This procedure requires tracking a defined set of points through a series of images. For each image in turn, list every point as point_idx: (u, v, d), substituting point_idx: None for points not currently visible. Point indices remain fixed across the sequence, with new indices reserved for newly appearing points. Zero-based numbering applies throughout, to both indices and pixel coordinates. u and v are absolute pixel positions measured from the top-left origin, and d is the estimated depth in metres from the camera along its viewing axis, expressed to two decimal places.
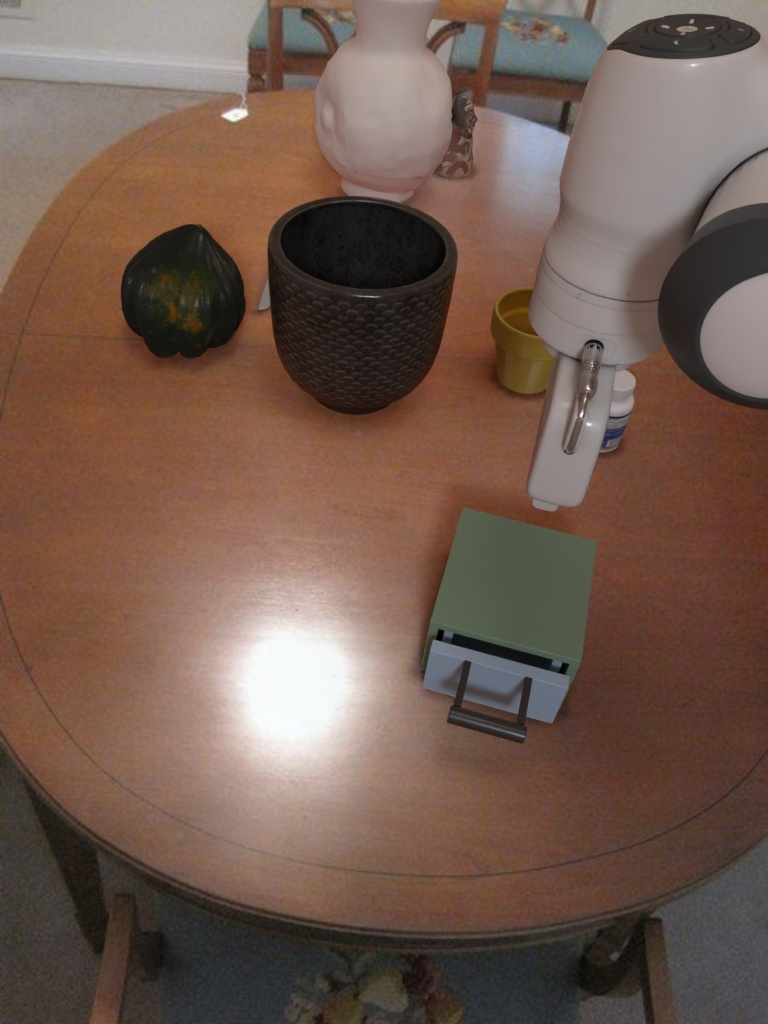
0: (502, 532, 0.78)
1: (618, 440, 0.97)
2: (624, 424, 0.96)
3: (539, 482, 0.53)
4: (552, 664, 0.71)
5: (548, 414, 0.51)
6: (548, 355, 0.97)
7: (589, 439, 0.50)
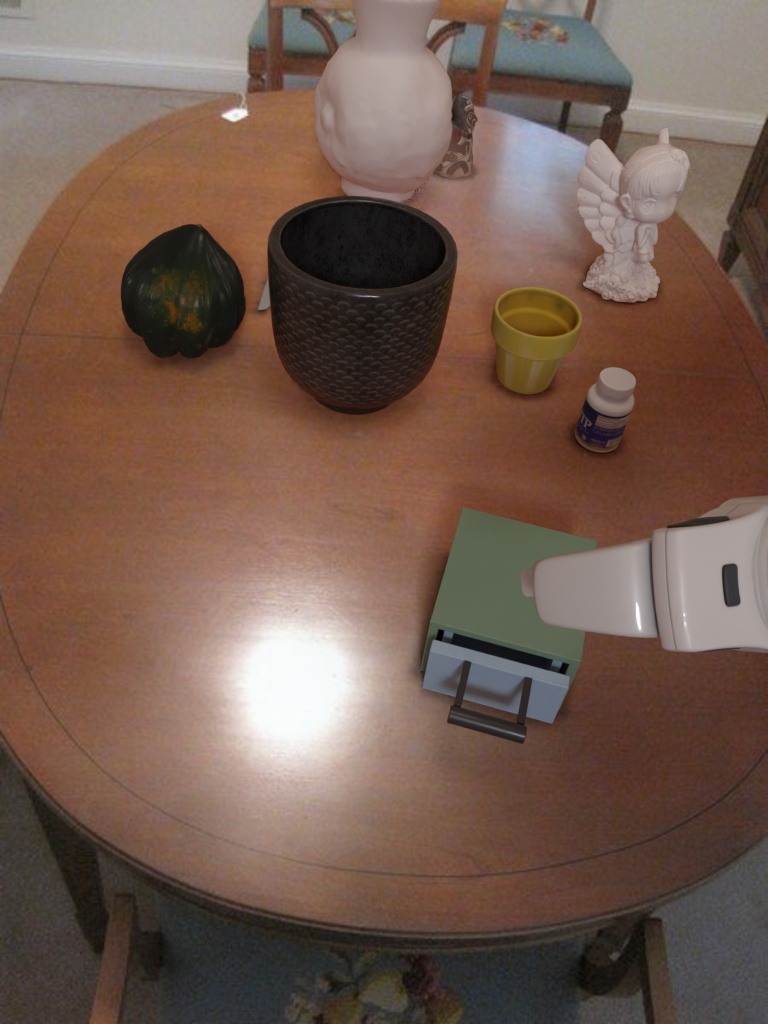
0: (502, 532, 0.78)
1: (618, 440, 0.97)
2: (624, 424, 0.96)
3: None
4: (552, 664, 0.71)
5: None
6: (548, 355, 0.97)
7: None
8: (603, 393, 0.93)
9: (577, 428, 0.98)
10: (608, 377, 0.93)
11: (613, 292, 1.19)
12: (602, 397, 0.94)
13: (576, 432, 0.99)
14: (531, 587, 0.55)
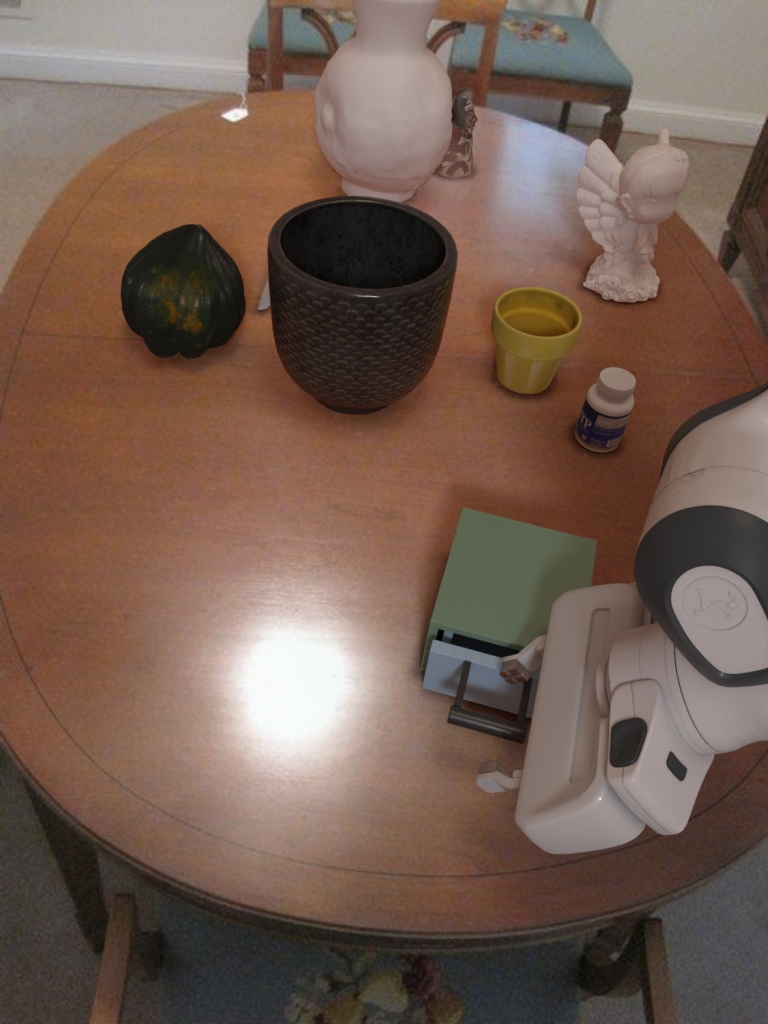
0: (502, 532, 0.78)
1: (618, 440, 0.97)
2: (624, 424, 0.96)
3: None
4: None
5: None
6: (548, 355, 0.97)
7: None
8: (603, 393, 0.93)
9: (577, 428, 0.98)
10: (608, 377, 0.93)
11: (613, 292, 1.19)
12: (602, 397, 0.94)
13: (576, 432, 0.99)
14: (492, 788, 0.61)
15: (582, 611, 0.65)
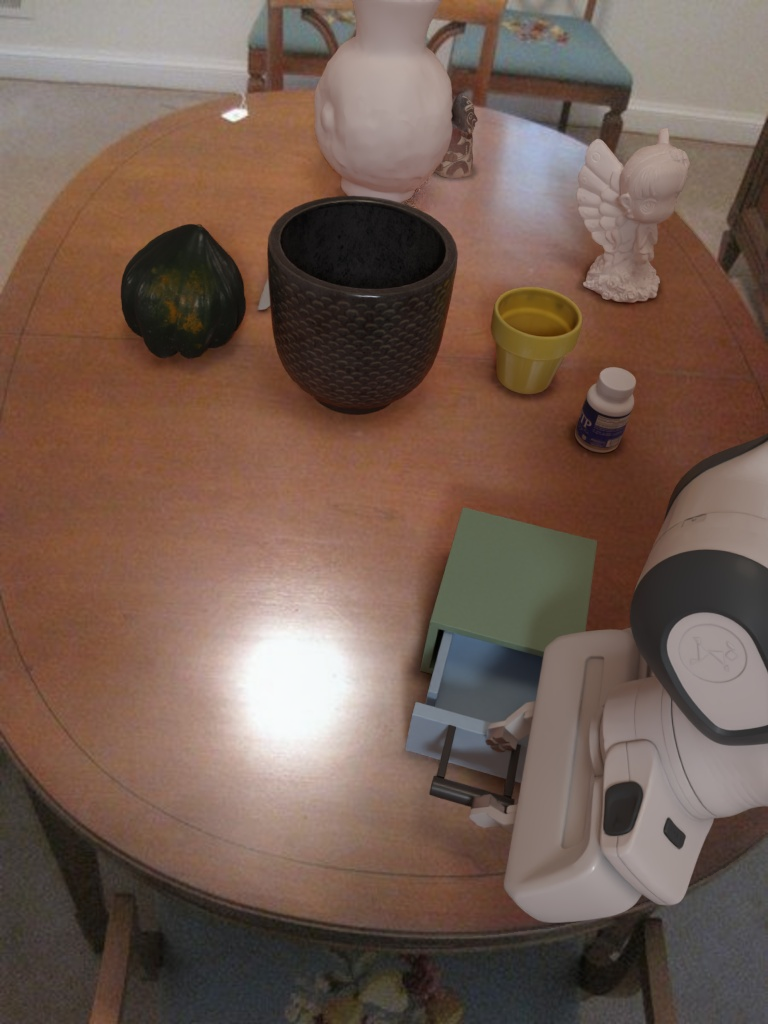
0: (502, 532, 0.78)
1: (618, 440, 0.97)
2: (624, 424, 0.96)
3: None
4: None
5: None
6: (548, 355, 0.97)
7: None
8: (603, 393, 0.93)
9: (577, 428, 0.98)
10: (608, 377, 0.93)
11: (613, 292, 1.19)
12: (602, 397, 0.94)
13: (576, 432, 0.99)
14: (486, 823, 0.60)
15: (575, 659, 0.62)
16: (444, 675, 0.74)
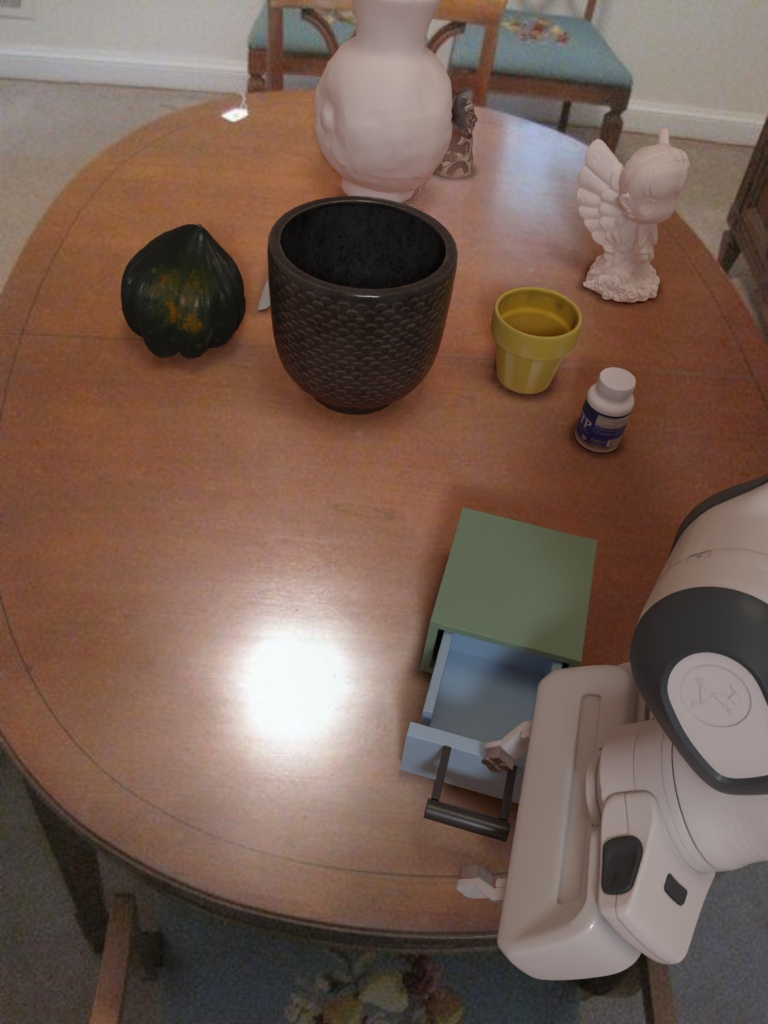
0: (502, 532, 0.78)
1: (618, 440, 0.97)
2: (624, 424, 0.96)
3: None
4: None
5: None
6: (548, 355, 0.97)
7: None
8: (603, 393, 0.93)
9: (577, 428, 0.98)
10: (608, 377, 0.93)
11: (613, 292, 1.19)
12: (602, 397, 0.94)
13: (576, 432, 0.99)
14: (474, 894, 0.56)
15: (570, 696, 0.60)
16: (440, 692, 0.73)
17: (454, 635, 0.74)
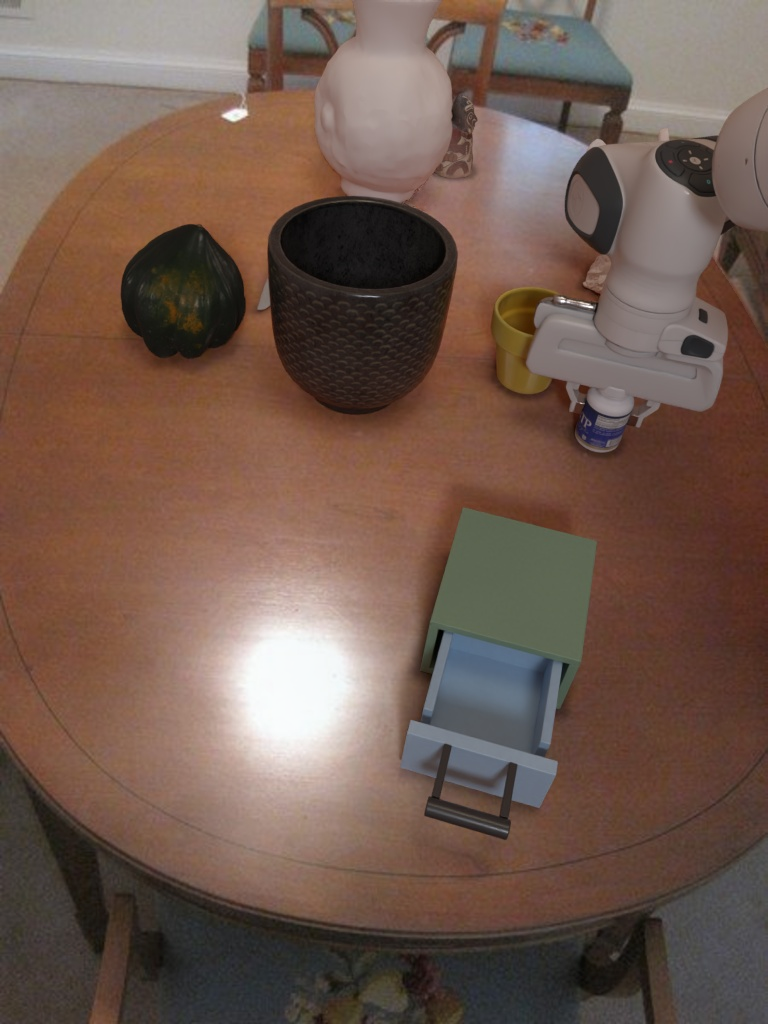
0: (502, 532, 0.78)
1: (618, 440, 0.97)
2: (624, 424, 0.96)
3: None
4: (539, 746, 0.66)
5: None
6: None
7: (541, 324, 0.90)
8: (603, 393, 0.93)
9: (577, 428, 0.98)
10: None
11: None
12: (602, 396, 0.94)
13: (576, 432, 0.99)
14: None
15: (554, 355, 0.91)
16: (440, 691, 0.73)
17: (454, 634, 0.74)
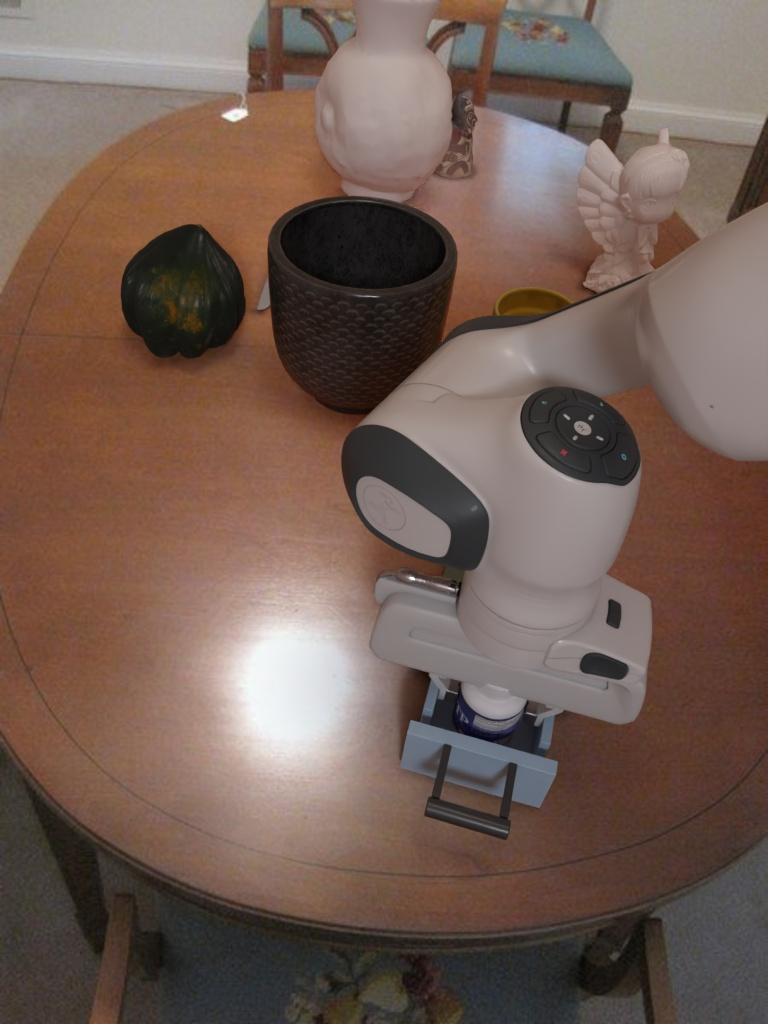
0: None
1: (509, 737, 0.69)
2: (515, 722, 0.67)
3: None
4: (539, 746, 0.66)
5: None
6: None
7: (383, 605, 0.62)
8: (480, 689, 0.65)
9: (453, 715, 0.70)
10: None
11: None
12: (480, 691, 0.65)
13: (452, 720, 0.70)
14: None
15: (406, 644, 0.63)
16: None
17: None
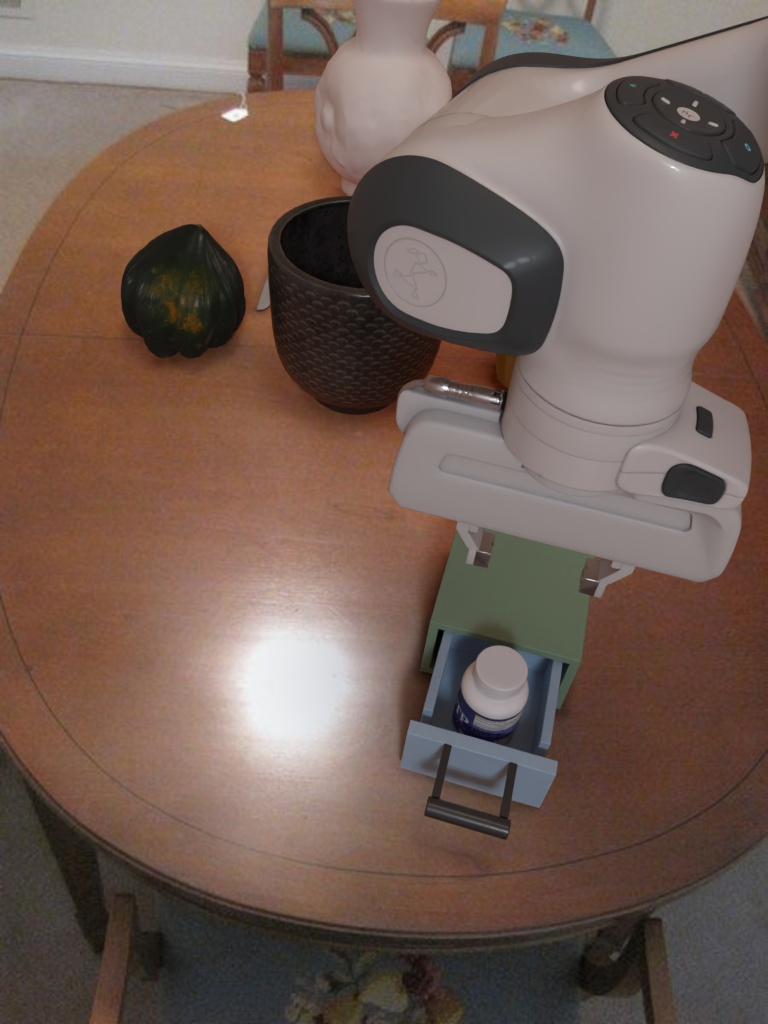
0: None
1: (509, 737, 0.69)
2: (515, 722, 0.67)
3: None
4: (539, 746, 0.66)
5: None
6: None
7: (407, 428, 0.49)
8: (481, 689, 0.65)
9: (453, 715, 0.70)
10: (488, 666, 0.65)
11: None
12: (480, 691, 0.65)
13: (452, 720, 0.70)
14: None
15: (435, 481, 0.50)
16: (440, 691, 0.73)
17: (454, 634, 0.74)
